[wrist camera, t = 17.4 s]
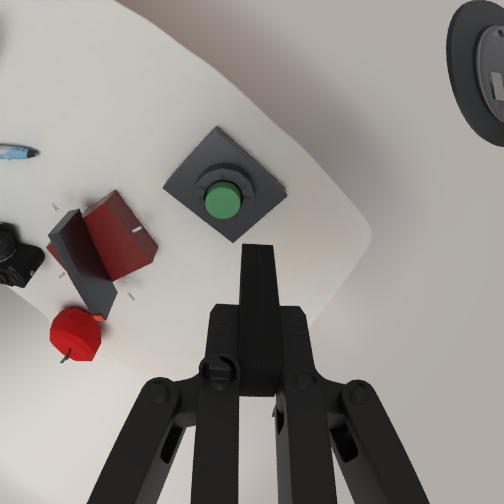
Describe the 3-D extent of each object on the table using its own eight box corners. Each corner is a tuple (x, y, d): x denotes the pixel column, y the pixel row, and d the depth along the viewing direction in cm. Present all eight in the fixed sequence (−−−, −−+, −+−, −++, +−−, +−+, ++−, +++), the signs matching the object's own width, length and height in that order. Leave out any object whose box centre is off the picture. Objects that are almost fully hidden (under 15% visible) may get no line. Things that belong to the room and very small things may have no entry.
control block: (285, 188, 34) (289, 203, 31) (233, 233, 38) (232, 252, 34) (216, 125, 29) (213, 133, 26) (166, 180, 33) (158, 194, 30)
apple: (73, 292, 44) (51, 335, 35) (116, 326, 49) (102, 370, 41) (52, 311, 47) (33, 350, 39) (90, 341, 52) (77, 380, 44)
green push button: (247, 195, 31) (247, 203, 29) (224, 217, 32) (223, 225, 31) (222, 174, 29) (221, 180, 28) (200, 197, 30) (197, 204, 29)
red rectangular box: (109, 155, 30) (96, 166, 27) (187, 262, 40) (183, 279, 37) (34, 220, 35) (22, 233, 32) (103, 299, 45) (97, 315, 42)
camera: (41, 228, 36) (15, 260, 29) (49, 264, 40) (28, 297, 33) (-13, 218, 34) (-38, 244, 27) (-4, 250, 38) (-25, 278, 31)
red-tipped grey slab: (68, 211, 31) (46, 236, 26) (79, 208, 30) (57, 234, 26) (107, 293, 39) (95, 321, 34) (117, 292, 39) (105, 321, 34)
